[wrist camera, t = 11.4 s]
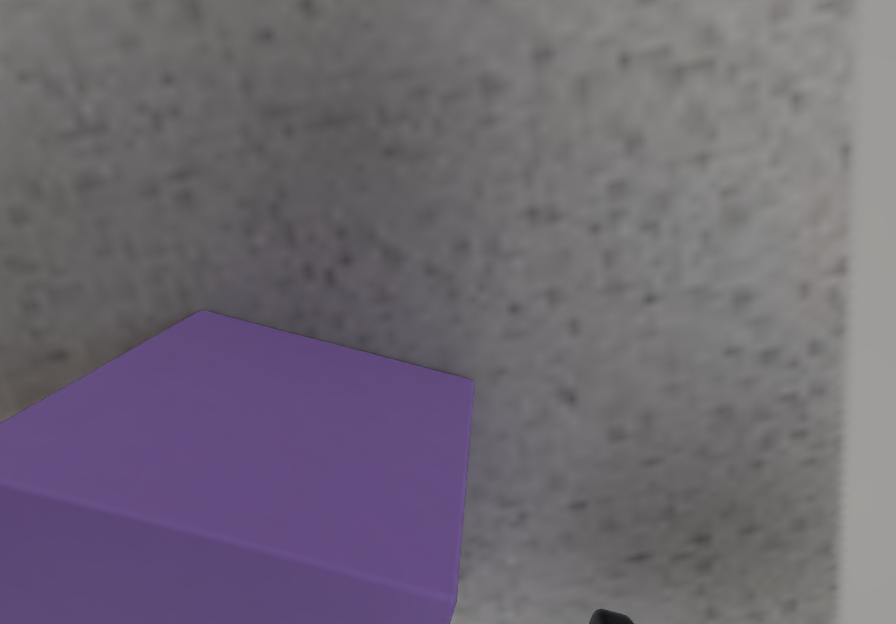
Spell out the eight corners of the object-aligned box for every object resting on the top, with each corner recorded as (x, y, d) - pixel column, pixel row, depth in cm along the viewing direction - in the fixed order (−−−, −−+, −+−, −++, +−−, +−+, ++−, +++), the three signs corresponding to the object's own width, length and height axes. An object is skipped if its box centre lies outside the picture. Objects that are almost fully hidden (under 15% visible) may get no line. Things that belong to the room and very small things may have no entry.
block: (475, 378, 9) (457, 601, 5) (413, 599, 10) (353, 930, 6) (201, 308, 9) (-76, 461, 5) (174, 536, 10) (-58, 822, 6)
